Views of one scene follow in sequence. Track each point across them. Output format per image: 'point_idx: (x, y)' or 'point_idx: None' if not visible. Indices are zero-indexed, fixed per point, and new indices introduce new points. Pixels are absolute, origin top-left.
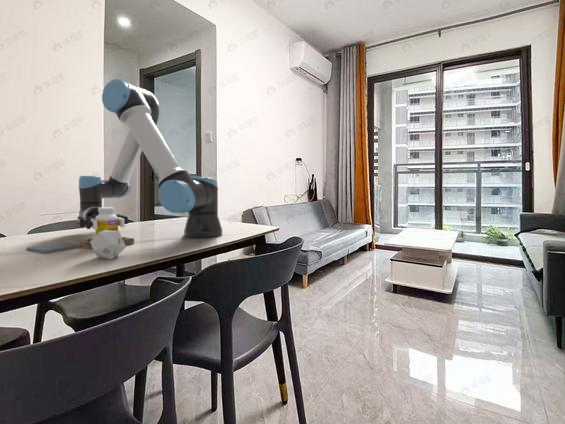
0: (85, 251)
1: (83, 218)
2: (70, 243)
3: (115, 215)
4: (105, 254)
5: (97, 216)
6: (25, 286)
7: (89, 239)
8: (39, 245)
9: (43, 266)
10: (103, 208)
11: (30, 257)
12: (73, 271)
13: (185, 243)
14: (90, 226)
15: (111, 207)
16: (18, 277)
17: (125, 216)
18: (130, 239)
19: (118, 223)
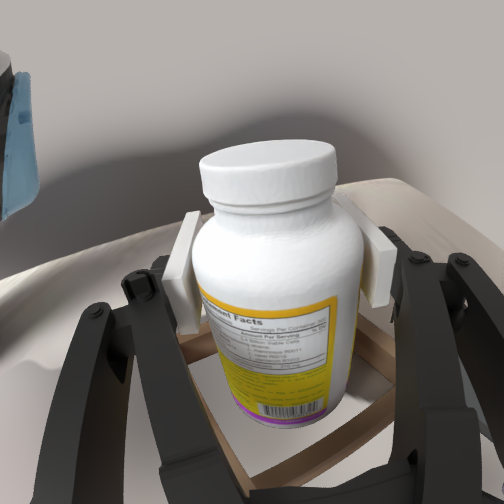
0: None
1: (484, 306)
2: (482, 418)
3: (209, 219)
4: None
5: (338, 205)
6: (385, 181)
7: (391, 398)
8: None
9: (415, 222)
10: (289, 140)
11: (497, 282)
12: None
13: (61, 294)
14: (394, 306)
15: (219, 156)
16: (416, 198)
17: (97, 307)
18: (179, 335)
19: (197, 294)
